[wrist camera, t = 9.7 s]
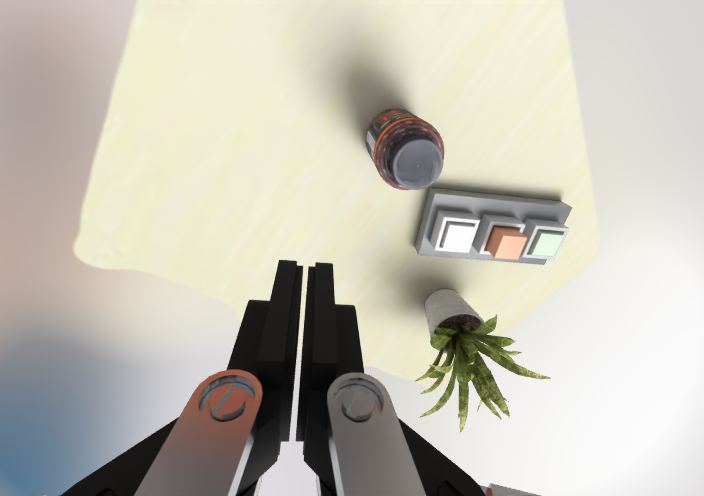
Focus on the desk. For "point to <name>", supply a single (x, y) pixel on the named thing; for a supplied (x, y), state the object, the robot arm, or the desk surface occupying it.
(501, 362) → the house plant
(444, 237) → the button
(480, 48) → the desk surface
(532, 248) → the button
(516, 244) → the button
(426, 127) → the supplement bottle
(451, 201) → the panel
